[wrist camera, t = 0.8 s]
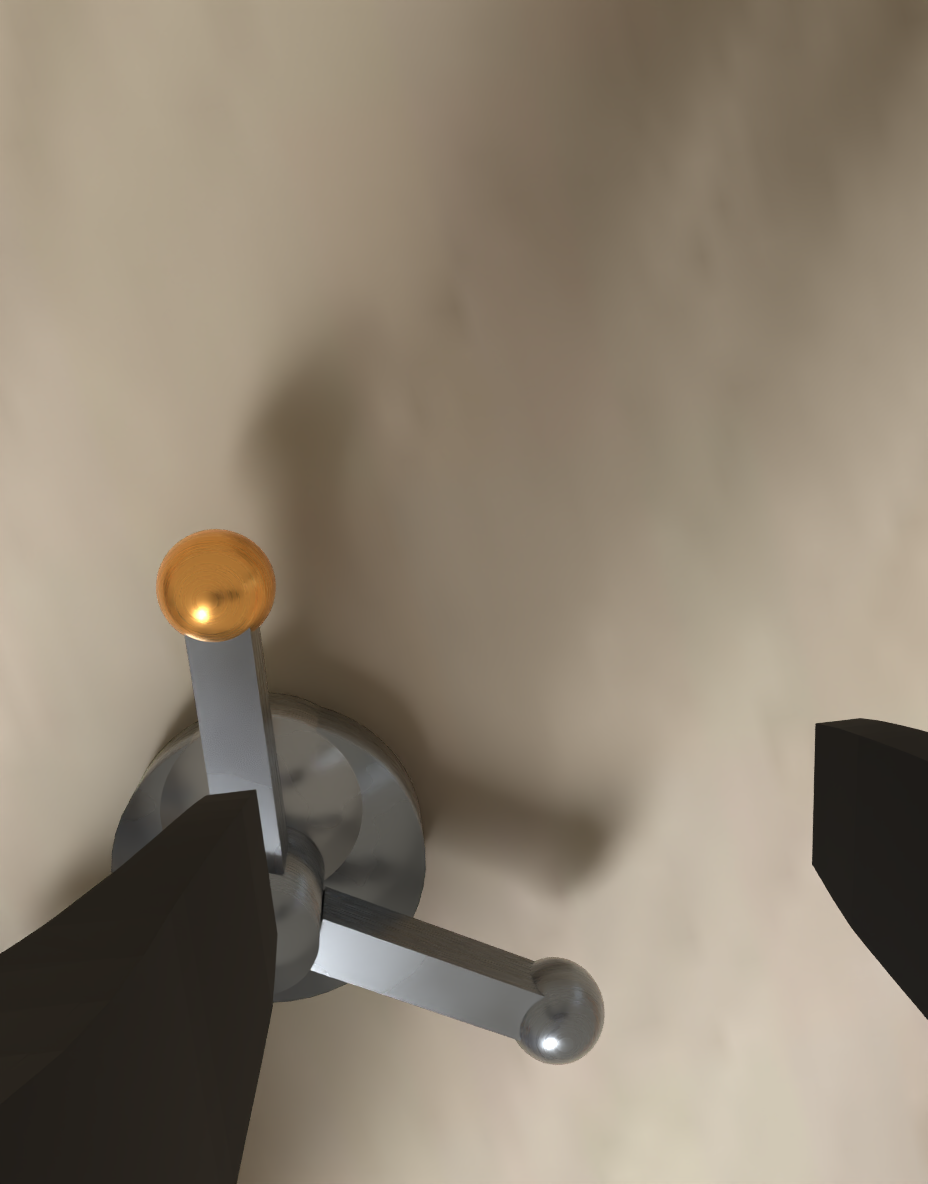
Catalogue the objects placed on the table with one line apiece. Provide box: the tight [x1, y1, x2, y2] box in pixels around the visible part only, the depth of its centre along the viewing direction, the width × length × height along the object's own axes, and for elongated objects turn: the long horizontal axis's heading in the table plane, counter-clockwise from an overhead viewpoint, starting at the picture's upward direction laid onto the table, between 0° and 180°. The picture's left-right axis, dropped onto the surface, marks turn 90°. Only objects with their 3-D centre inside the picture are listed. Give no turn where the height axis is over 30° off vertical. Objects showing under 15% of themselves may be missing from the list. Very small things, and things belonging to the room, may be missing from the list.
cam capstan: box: [111, 529, 604, 1065], centre depth 19 cm, size 13×14×4 cm
